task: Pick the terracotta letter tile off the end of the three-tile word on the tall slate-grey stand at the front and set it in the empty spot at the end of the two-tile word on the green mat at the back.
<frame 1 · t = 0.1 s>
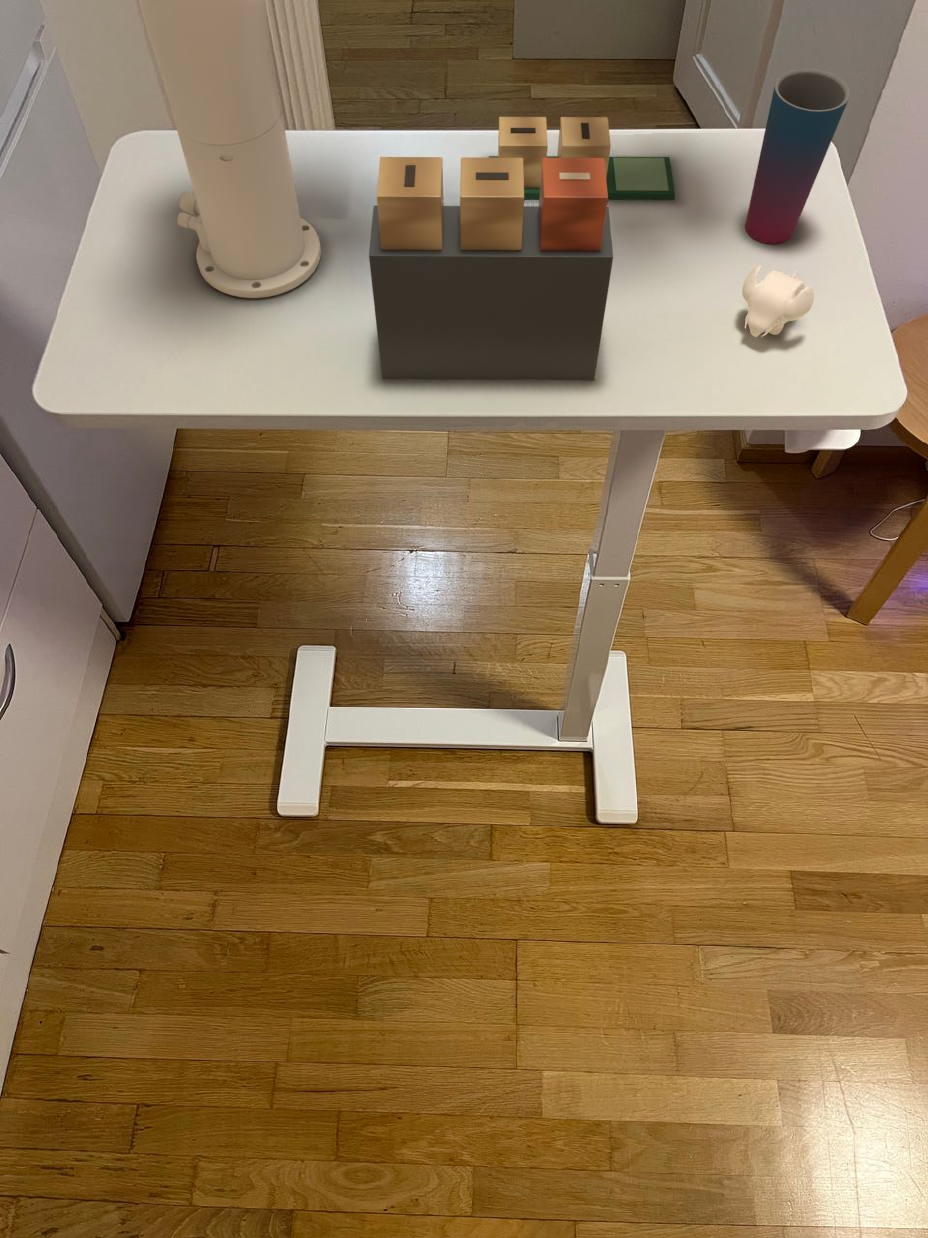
elephant figurine: (766, 326, 95), on the table
cup: (768, 229, 102), on the table
letter tile: (569, 230, 81), point 14 cm above the table, touching near word stand
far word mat: (579, 180, 107), on the table
near word stand: (488, 354, 93), on the table
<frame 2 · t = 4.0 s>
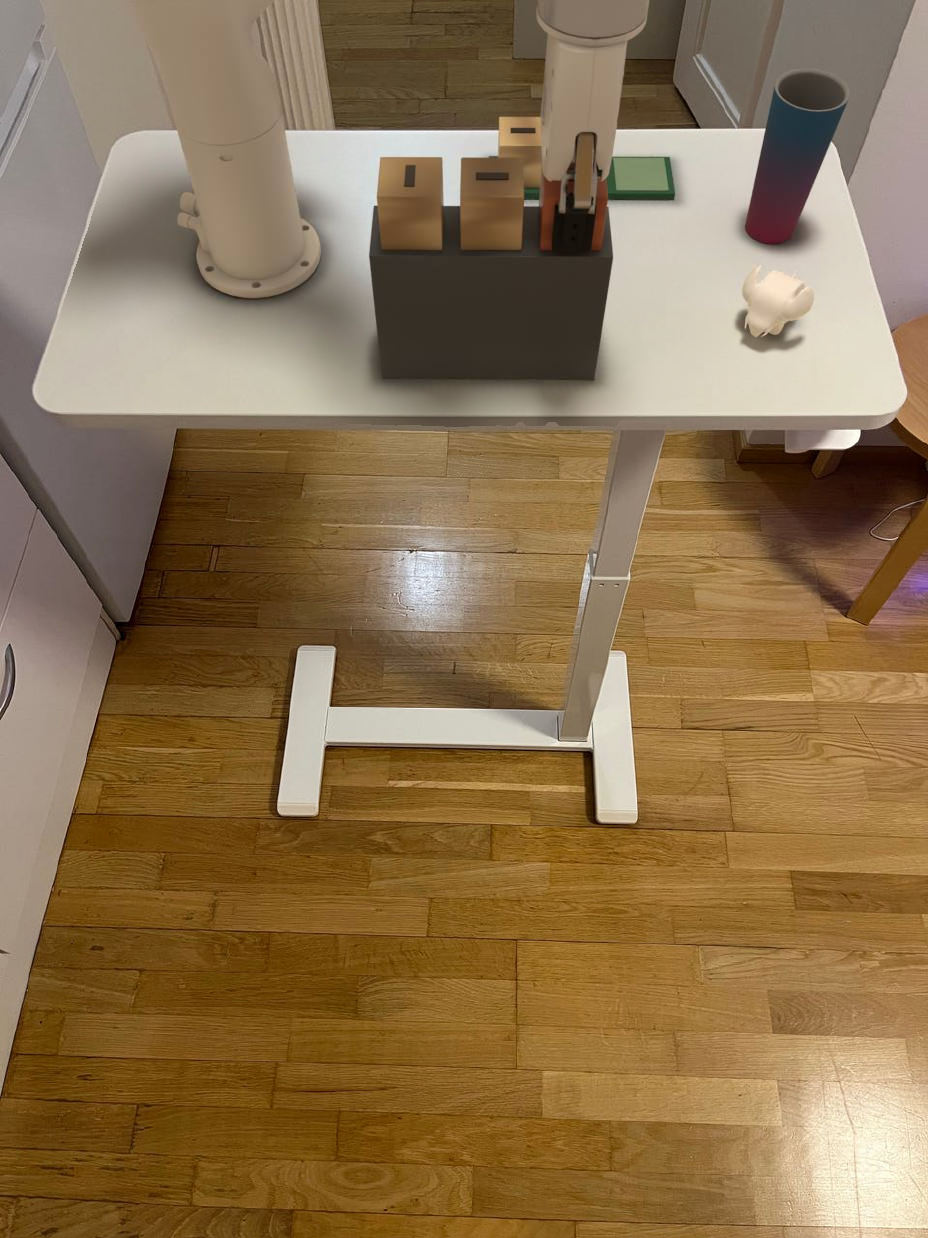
hand: (569, 224, 81), 15 cm above the table, tool pointing down, fingers closed on letter tile, 5 cm apart
letter tile: (569, 230, 81), point 14 cm above the table, touching gripper, near word stand
everything else where it was.
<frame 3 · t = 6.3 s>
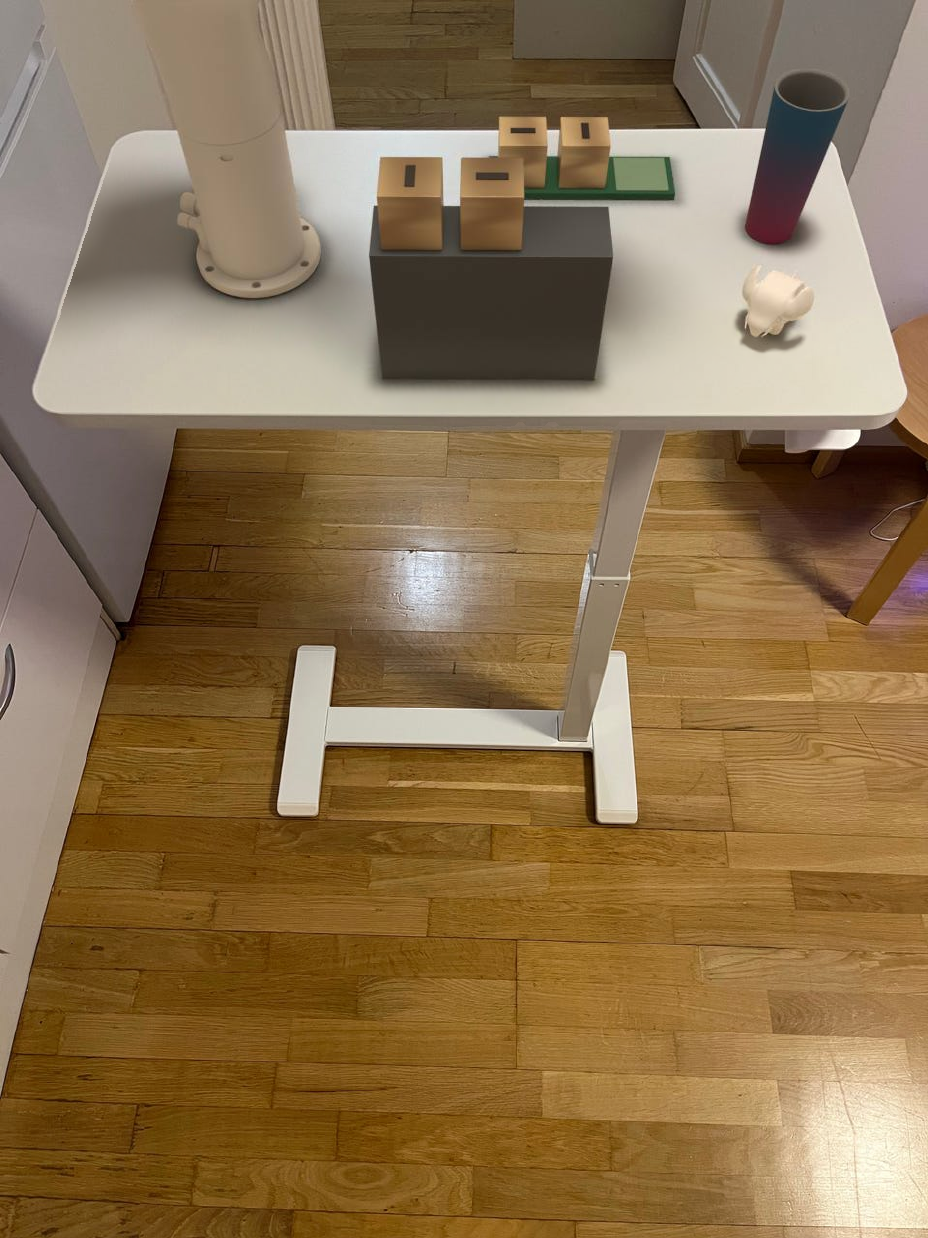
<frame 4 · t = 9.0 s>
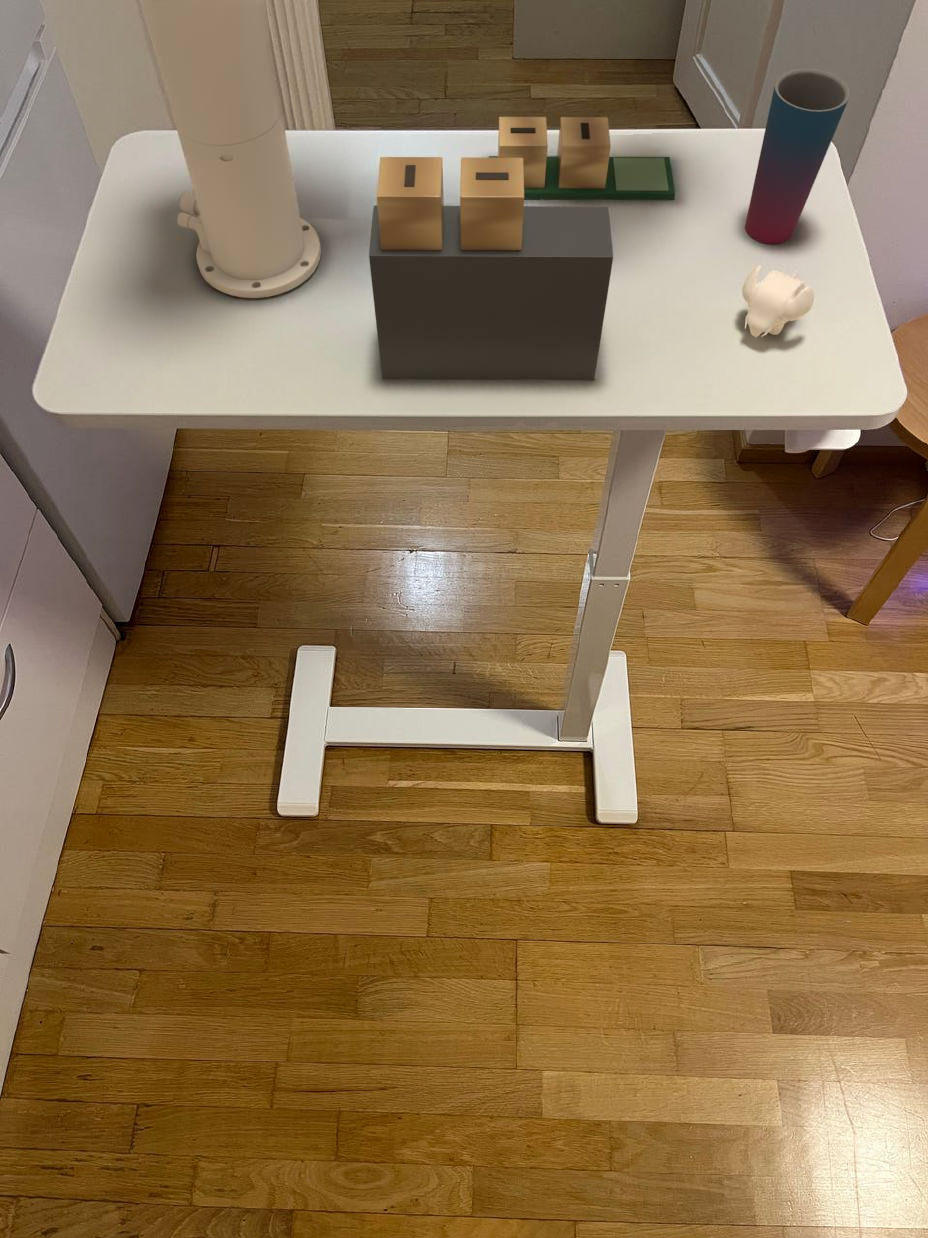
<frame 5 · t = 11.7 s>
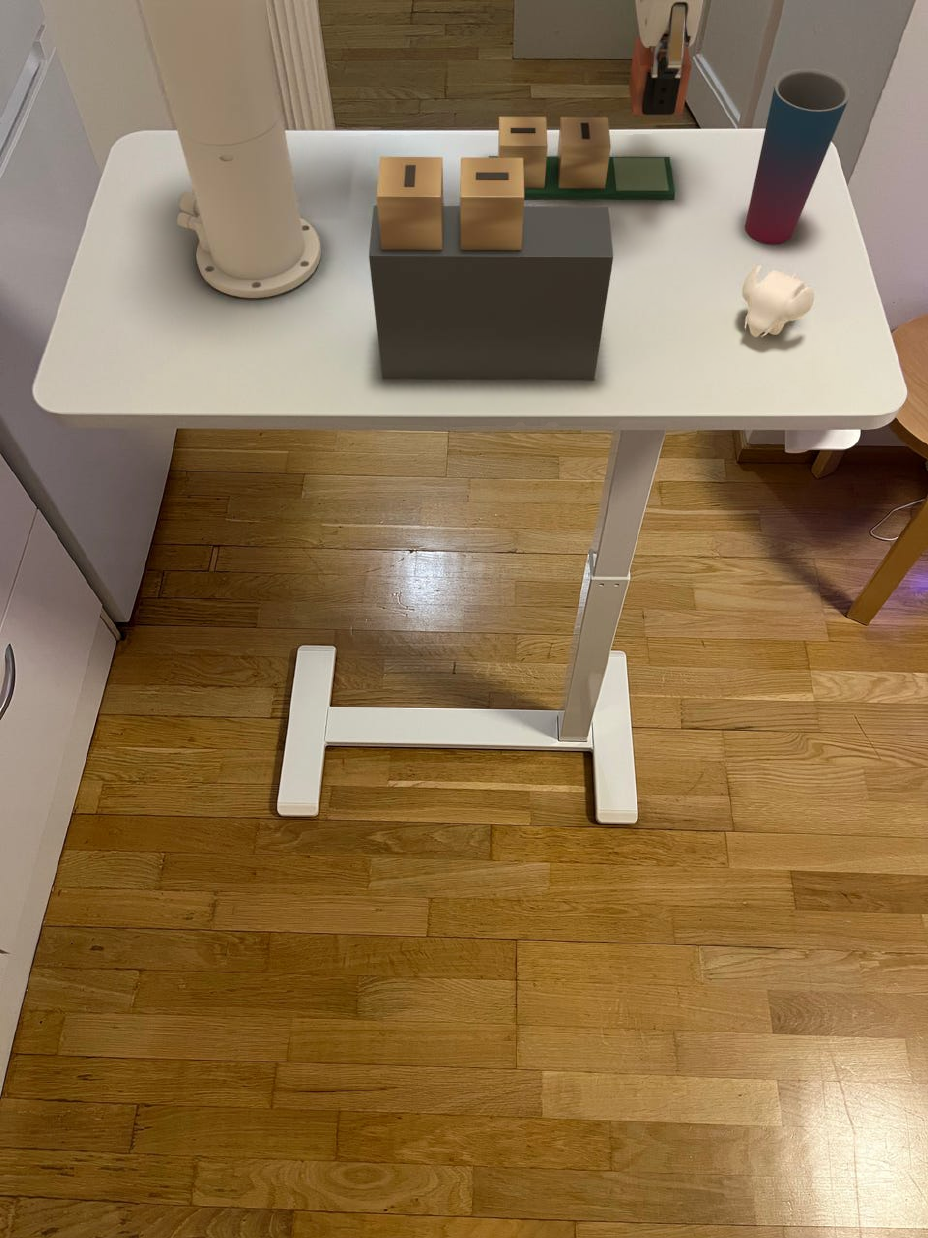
hand: (655, 93, 98), 10 cm above the table, tool pointing down, fingers closed on letter tile, 5 cm apart
letter tile: (655, 99, 99), point 9 cm above the table, touching gripper
everything else where it was.
when the fingers open (2 cm above the table, at t = 14.0 s): letter tile stays where it is, resting on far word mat.
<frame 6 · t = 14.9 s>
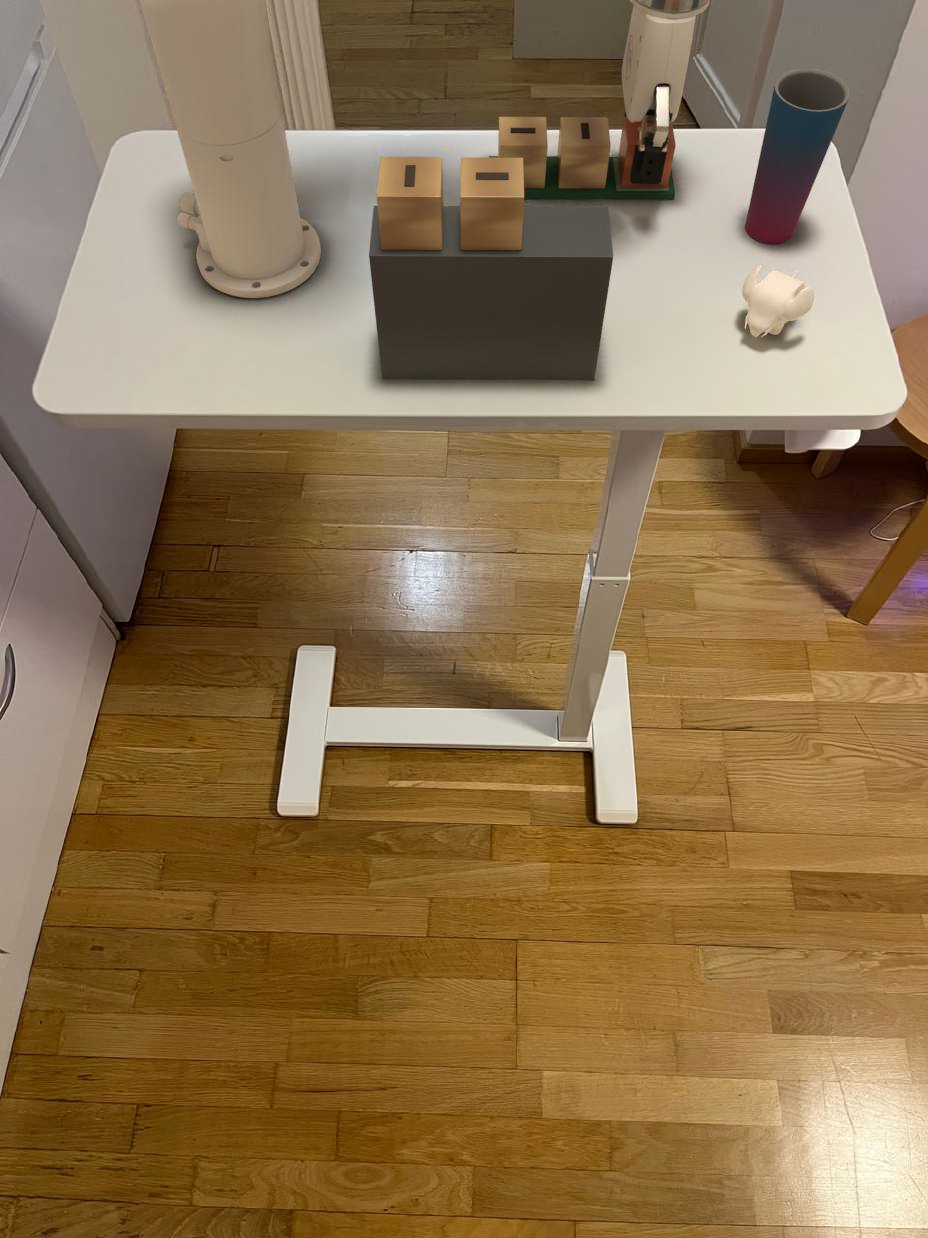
hand: (641, 153, 103), 3 cm above the table, tool pointing down, fingers open, 9 cm apart
letter tile: (642, 173, 106), point 1 cm above the table, touching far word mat
everything else where it was.
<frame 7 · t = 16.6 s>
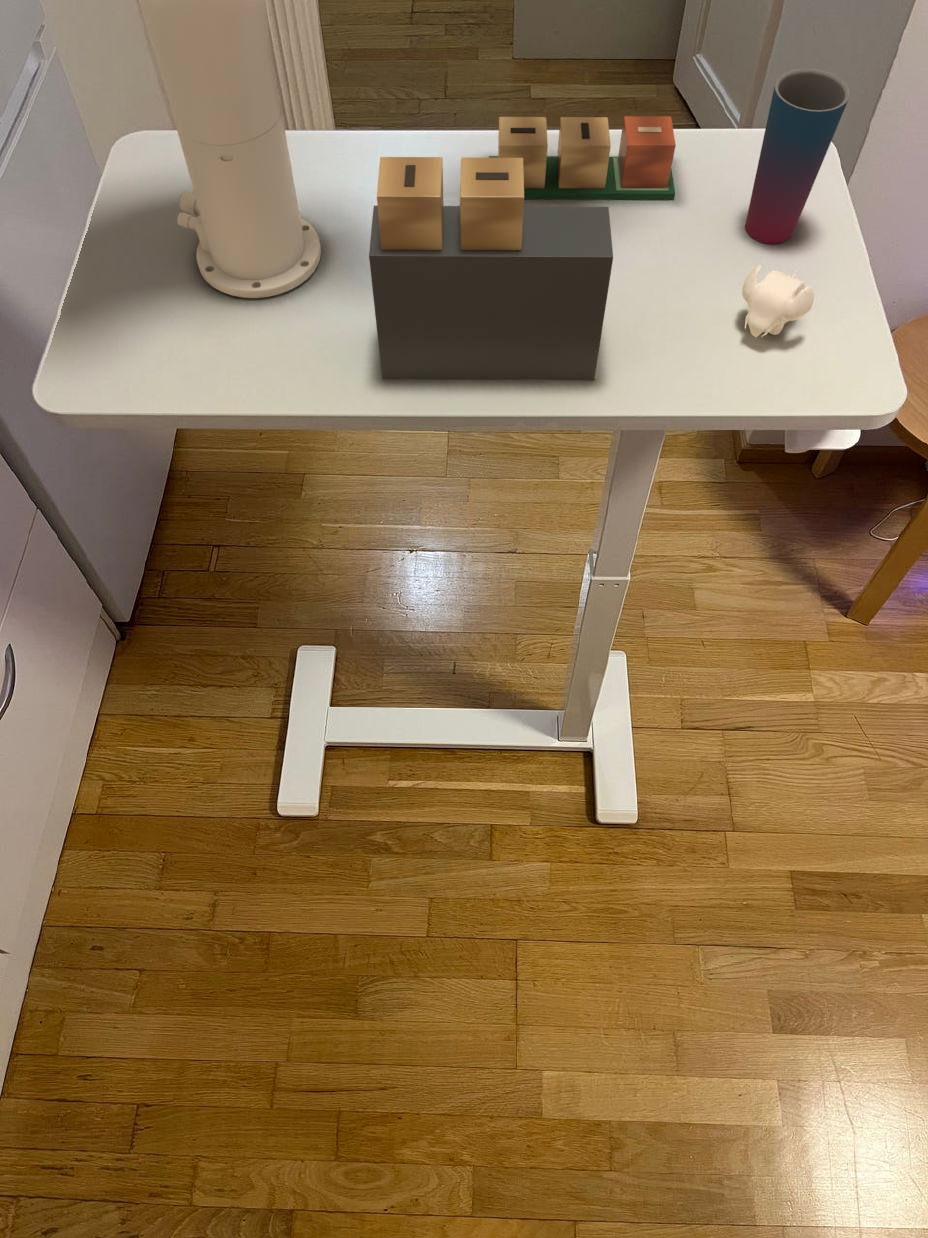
nothing on the table moved.
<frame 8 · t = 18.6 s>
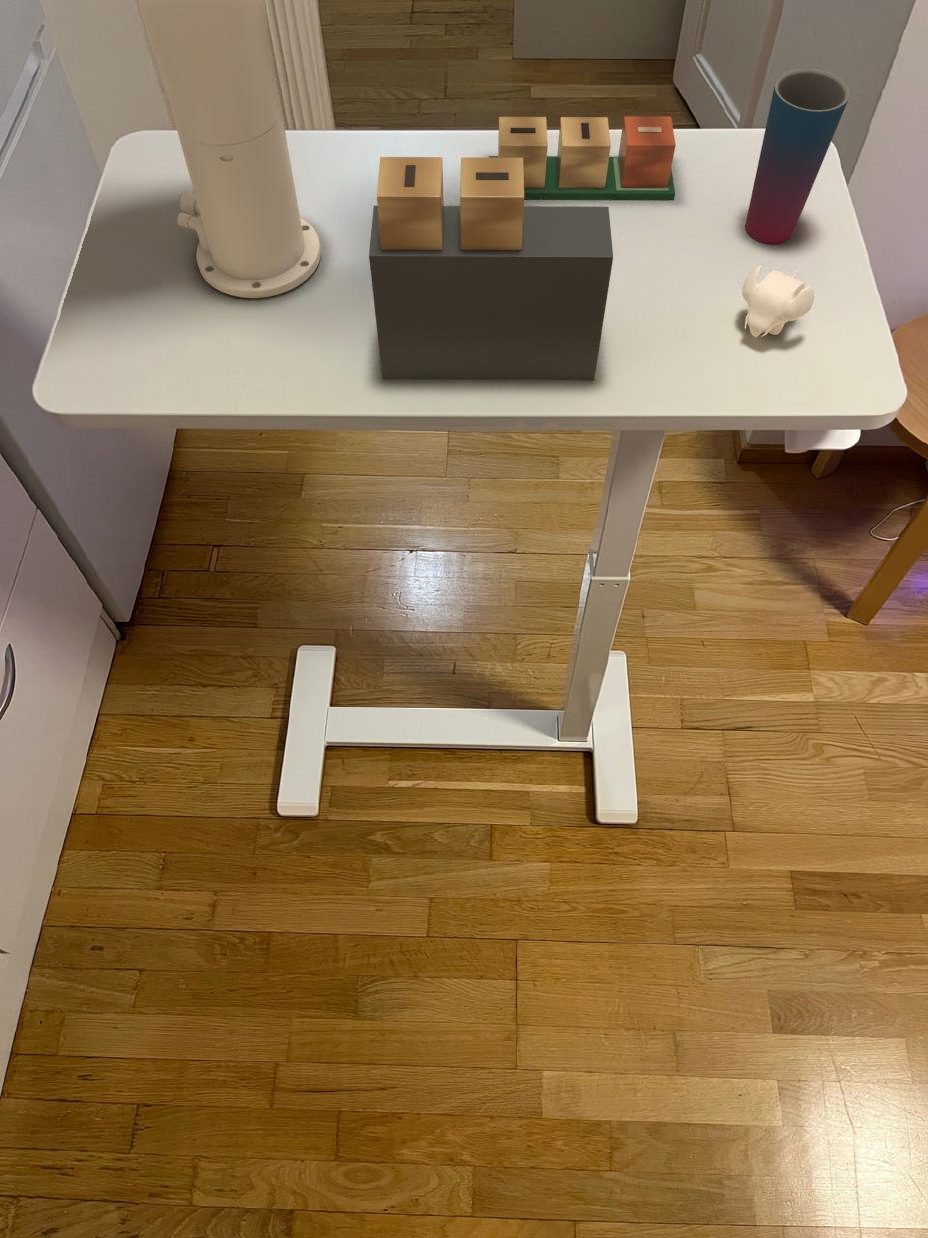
nothing on the table moved.
at the end: letter tile 0.2 cm from the target spot on the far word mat, point 0.9 cm above the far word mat's base; letter tile tilted 0°; the gripper is holding nothing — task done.
